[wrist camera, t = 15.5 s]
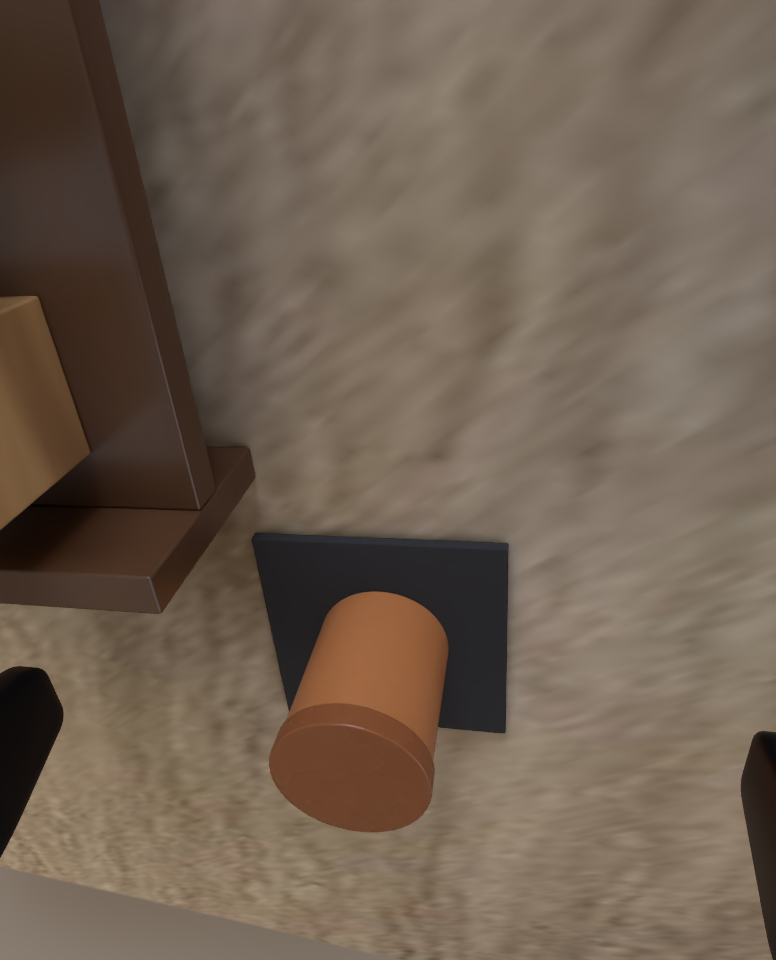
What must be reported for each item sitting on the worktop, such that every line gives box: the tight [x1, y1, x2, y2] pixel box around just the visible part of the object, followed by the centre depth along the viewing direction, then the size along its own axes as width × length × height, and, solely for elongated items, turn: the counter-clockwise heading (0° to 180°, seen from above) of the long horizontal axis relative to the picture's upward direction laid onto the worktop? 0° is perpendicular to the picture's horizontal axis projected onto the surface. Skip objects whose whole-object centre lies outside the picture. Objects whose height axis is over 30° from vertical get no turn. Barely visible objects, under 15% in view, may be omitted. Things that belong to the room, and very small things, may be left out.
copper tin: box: [269, 591, 449, 832], centre depth 23 cm, size 5×5×6 cm
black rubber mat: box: [252, 533, 508, 733], centre depth 25 cm, size 9×9×1 cm
